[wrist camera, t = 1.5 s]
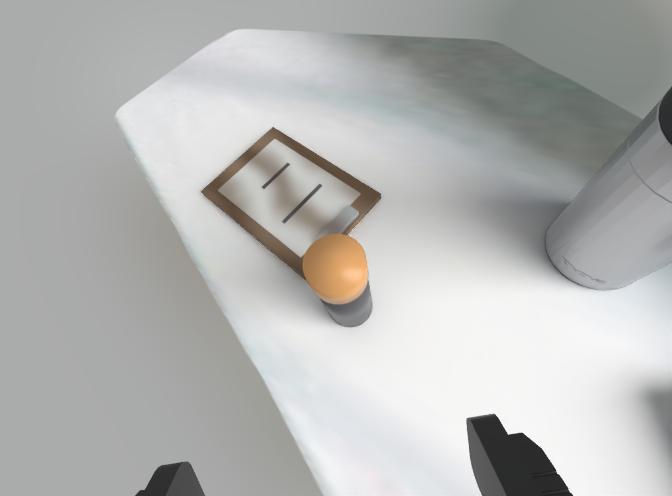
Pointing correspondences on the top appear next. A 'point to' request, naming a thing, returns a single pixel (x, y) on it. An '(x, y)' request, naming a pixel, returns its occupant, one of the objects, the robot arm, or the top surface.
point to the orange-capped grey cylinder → (339, 278)
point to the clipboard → (289, 196)
